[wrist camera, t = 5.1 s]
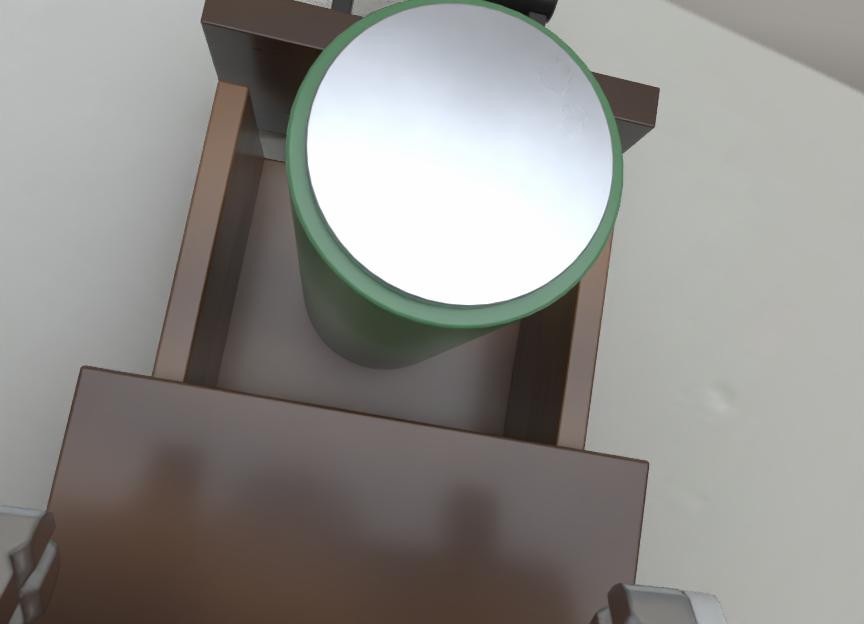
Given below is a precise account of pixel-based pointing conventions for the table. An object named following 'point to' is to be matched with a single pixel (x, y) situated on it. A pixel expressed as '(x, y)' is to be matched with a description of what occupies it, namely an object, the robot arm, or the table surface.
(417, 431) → the cabinet
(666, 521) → the table surface
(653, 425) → the table surface
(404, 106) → the green can
